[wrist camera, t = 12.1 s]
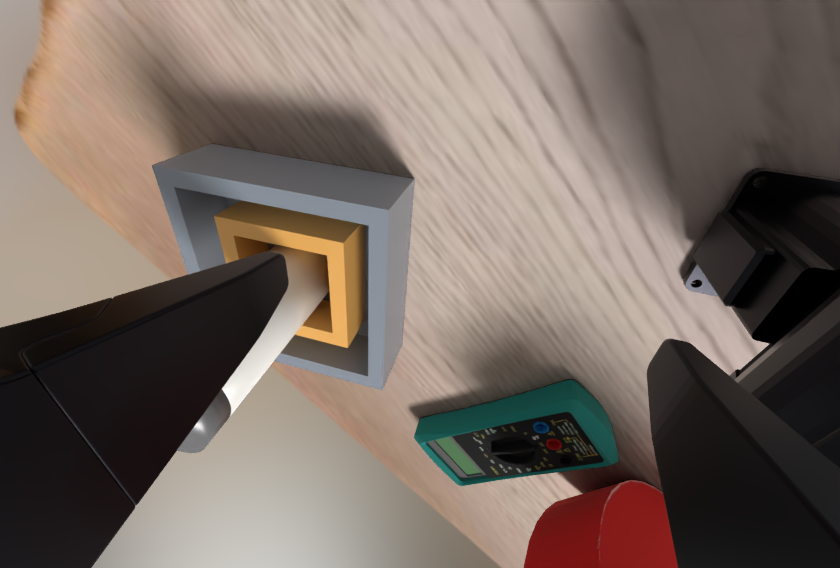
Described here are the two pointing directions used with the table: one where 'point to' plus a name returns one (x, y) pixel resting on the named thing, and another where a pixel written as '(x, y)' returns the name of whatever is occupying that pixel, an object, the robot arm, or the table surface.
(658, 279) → the table surface
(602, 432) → the digital multimeter
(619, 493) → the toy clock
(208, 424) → the grey capped shaker bottle
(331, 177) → the box
